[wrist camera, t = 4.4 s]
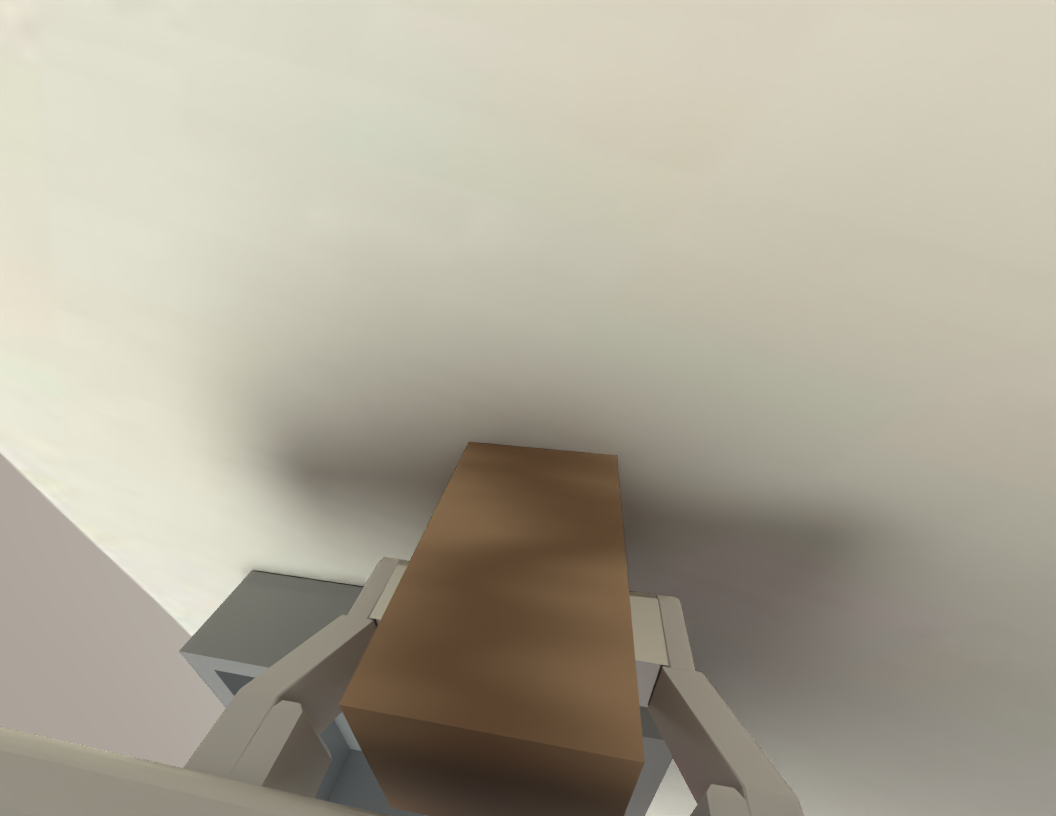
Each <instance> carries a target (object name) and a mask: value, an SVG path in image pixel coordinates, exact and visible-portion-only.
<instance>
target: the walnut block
mask: <svg viewBox="0 0 1056 816" xmlns="http://www.w3.org/2000/svg"><path fill="white" fill-rule="evenodd" d="M339 706H340V708H341V710H342V712H343V714H344V716H345V718H346V720H347V722H348V724H349V726H350V728H351V730H352V732H353V734H354V736H355V738H356V740H357V742H358V744H359V746H360V748H361V750H362V752H363V754H364V756H365V758H366V760H367V762H368V764H369V766H370V768H371V770H372V772H373V774H374V776H375V777H376V779H377V781H378V783H379V785H380V787H381V789H382V791H383V793H384V795H385V797H386V799H387V801H388V803H389V805H390V807H391V808H396V809H400V810H405V811H409V812H414V813H418V814H423V815H427V816H624V814H625V812H626V809H627V807H628V804H629V801H630V799H631V796H632V794H633V791H634V789H635V786H636V784H637V781H638V779H639V776H640V773H641V771H642V768H643V766H644V763H645V760H644V749H643V738H642V727H641V716H640V705H639V694H638V683H637V672H636V662H635V651H634V640H633V629H632V618H631V607H630V596H629V585H628V574H627V563H626V552H625V541H624V530H623V519H622V508H621V497H620V486H619V475H618V464H617V455H606V454H595V453H584V452H573V451H562V450H551V449H540V448H530V447H519V446H508V445H497V444H486V443H475V442H469V443H468V445H467V447H466V449H465V451H464V453H463V455H462V457H461V459H460V461H459V463H458V465H457V467H456V469H455V471H454V473H453V475H452V477H451V479H450V481H449V483H448V485H447V487H446V489H445V491H444V493H443V495H442V497H441V499H440V501H439V503H438V505H437V507H436V509H435V511H434V513H433V515H432V517H431V519H430V521H429V523H428V525H427V527H426V529H425V532H424V534H423V536H422V538H421V540H420V542H419V544H418V546H417V548H416V550H415V552H414V554H413V556H412V558H411V560H410V562H409V564H408V566H407V568H406V570H405V572H404V574H403V576H402V578H401V580H400V582H399V584H398V586H397V588H396V590H395V592H394V594H393V596H392V598H391V600H390V602H389V604H388V606H387V608H386V610H385V612H384V614H383V616H382V618H381V620H380V622H379V624H378V626H377V628H376V630H375V632H374V634H373V636H372V638H371V640H370V642H369V644H368V646H367V648H366V650H365V652H364V654H363V656H362V658H361V660H360V662H359V664H358V666H357V668H356V670H355V673H354V675H353V677H352V679H351V681H350V683H349V685H348V687H347V689H346V691H345V693H344V695H343V697H342V699H341V701H340V703H339Z"/></svg>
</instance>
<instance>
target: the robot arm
mask: <svg viewBox="0 0 1056 816" xmlns="http://www.w3.org/2000/svg"><path fill="white" fill-rule="evenodd" d="M409 562H410V561H407V560H402V559H394V558H387V557H384V558H383V559H382V560H381V561H380V562H379V563H378V564H377V566H376V567H375V569H374V571H373V573H372V574H371V576H370V578H369V579H368V581H367V583H366V584H365V586H364V588H363V590H362V591H361V593H360V595H359V596H358V598H357V600H356V602H355V603H354V605H353V607H352V608H351V610H350V612H349V613H348V615H341V616H339V617H338V618H337V619H335V620H334V621H333V622H331V623H330V624H328V625H327V626H326V627H324V628H323V629H322V630H320V631H319V632H317V633H316V634H315V635H313V636H312V637H311V638H309V639H308V640H307V641H305V642H304V643H302V644H301V645H300V646H298V647H297V648H296V649H294V650H293V651H291V652H290V653H289V654H287V655H286V656H285V657H283V658H282V659H280V660H279V661H278V662H276V663H275V664H274V665H272V666H271V667H269V668H268V669H267V670H265V671H264V672H263V673H261V674H260V675H258V676H257V677H256V678H254V679H253V680H252V681H250V682H249V683H247V684H246V685H245V686H243V687H242V688H241V689H239V691H238V692H237V694H236V695H235V696H234V698H233V699H232V701H231V702H230V703H229V705H228V706H227V708H226V709H225V711H224V712H223V713H222V715H221V716H220V718H219V719H218V720H217V722H216V723H215V724H214V726H213V727H212V729H211V730H210V731H209V733H208V734H207V736H206V737H205V738H204V740H203V741H202V743H201V744H200V745H199V747H198V748H197V750H196V751H195V752H194V754H193V755H192V756H191V758H190V759H189V761H188V762H187V764H186V765H185V766H184V768H180V767H175V766H171V765H166V764H162V763H158V762H153V761H149V760H145V759H140V758H136V757H132V756H127V755H123V754H118V753H114V752H110V751H105V750H101V749H97V748H92V747H88V746H83V745H79V744H75V743H70V742H66V741H62V740H57V739H53V738H48V737H44V736H40V735H35V734H31V733H26V732H22V731H18V730H13V729H9V728H4V727H0V816H390V815H385V814H381V813H377V812H372V811H368V810H364V809H359V808H355V807H350V806H346V805H342V804H337V803H333V802H329V801H324V800H320V799H315V796H316V794H317V791H318V789H319V787H320V785H321V782H322V780H323V778H324V776H325V774H326V771H327V769H328V767H329V765H330V762H331V760H332V759H331V753H330V751H329V749H328V748H327V746H326V744H325V743H324V741H323V739H322V738H321V736H320V734H321V733H322V732H323V731H324V730H325V729H326V728H327V727H328V726H329V725H330V724H331V723H332V722H333V721H334V720H335V719H336V718H337V717H338V715H339V714H340V713H341V712H342V710H341V708H340V706H339V703H340V701H341V699H342V697H343V695H344V693H345V691H346V689H347V687H348V685H349V683H350V681H351V679H352V677H353V675H354V673H355V670H356V668H357V666H358V664H359V662H360V660H361V658H362V656H363V654H364V652H365V650H366V648H367V646H368V644H369V642H370V640H371V638H372V636H373V634H374V632H375V630H376V628H377V626H378V624H379V622H380V620H381V618H382V616H383V614H384V612H385V610H386V608H387V606H388V604H389V602H390V600H391V598H392V596H393V594H394V592H395V590H396V588H397V586H398V584H399V582H400V580H401V578H402V576H403V574H404V572H405V570H406V568H407V566H408V564H409ZM629 596H630V607H631V618H632V629H633V640H634V651H635V662H636V672H637V683H638V694H639V705H640V706H643V707H648V709H647V710H648V711H649V713H650V715H651V717H652V719H653V721H654V723H655V725H656V727H657V728H658V730H659V732H660V734H661V736H662V738H663V740H664V742H665V744H666V745H667V747H668V749H669V751H670V753H671V755H672V757H673V759H674V761H675V762H676V764H677V766H678V768H679V770H680V772H681V774H682V776H683V778H684V779H685V781H686V783H687V785H688V787H689V789H690V791H691V793H692V795H693V796H694V798H695V800H696V802H697V804H698V805H697V806H696V808H695V809H694V811H693V812H692V814H691V815H690V816H804V814H803V811H802V808H801V805H800V802H799V799H798V798H797V796H796V795H795V794H794V792H793V791H792V790H791V789H790V787H789V786H788V785H787V783H786V782H785V781H784V779H783V778H782V777H781V775H780V774H779V773H778V771H777V770H776V769H775V767H774V766H773V765H772V764H771V762H770V761H769V760H768V758H767V757H766V756H765V754H764V753H763V752H762V750H761V749H760V748H759V746H758V745H757V744H756V742H755V741H754V740H753V739H752V737H751V736H750V735H749V733H748V732H747V731H746V729H745V728H744V727H743V725H742V724H741V723H740V721H739V720H738V719H737V717H736V716H735V715H734V714H733V712H732V711H731V710H730V708H729V707H728V706H727V704H726V703H725V702H724V700H723V699H722V698H721V696H720V695H719V694H718V692H717V691H716V690H715V689H714V687H713V686H712V685H711V683H710V682H709V681H708V679H707V678H706V677H705V675H704V674H703V673H702V672H697V671H695V667H694V662H693V657H692V653H691V648H690V644H689V639H688V634H687V630H686V625H685V620H684V616H683V611H682V607H681V602H680V601H679V599H678V598H677V597H671V596H662V595H655V594H652V593H644V592H635V591H629Z"/></svg>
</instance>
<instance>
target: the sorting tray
mask: <svg viewBox="0 0 1056 816" xmlns="http://www.w3.org/2000/svg"><path fill="white" fill-rule="evenodd" d="M363 588H364V587H358V586H351V585H344V584H337V583H331V582H324V581H317V580H311V579H304V578H297V577H290V576H284V575H277V574H270V573H264V572H257V571H251V572H250V573H249V574H248V576H247V577H246V578H245V579H244V580H243V581H242V582H241V583H240V584H239V585H238V587H237V588H236V589H235V590H234V591H233V592H232V593H231V594H230V595H229V597H228V598H227V599H226V600H225V601H224V602H223V603H222V604H221V605H220V607H219V608H218V609H217V610H216V611H215V612H214V613H213V614H212V615H211V617H210V618H209V619H208V620H207V621H206V622H205V623H204V624H203V625H202V627H201V628H200V629H199V630H198V631H197V632H196V633H195V634H194V635H193V636H192V638H191V639H190V640H189V641H188V642H187V643H186V644H185V645H184V646H183V648H182V649H181V650H180V651H179V652H180V653H181V654H182V655H183V657H184V658H185V659H186V660H187V661H188V663H189V664H190V665H191V666H192V667H193V669H194V670H195V671H196V672H197V674H198V675H199V676H200V677H201V678H202V679H203V681H204V682H205V683H206V684H207V686H208V687H209V688H210V689H211V690H212V692H213V693H214V694H215V695H216V697H217V698H218V699H219V700H220V701H221V703H222V704H223V705H224V706H225V707H226V708H227V706H228V705H229V703H230V702H231V701H232V699H233V698H234V696H235V695H236V694H237V692H238V691H239V689H241V688H242V687H243V686H245V685H246V684H247V683H249V682H250V681H252V680H253V679H254V678H256V677H257V676H258V675H260V674H261V673H263V672H264V671H265V670H267V669H268V668H269V667H271V666H272V665H274V664H275V663H276V662H278V661H279V660H280V659H282V658H283V657H285V656H286V655H287V654H289V653H290V652H291V651H293V650H294V649H296V648H297V647H298V646H300V645H301V644H302V643H304V642H305V641H307V640H308V639H309V638H311V637H312V636H313V635H315V634H316V633H317V632H319V631H320V630H322V629H323V628H324V627H326V626H327V625H328V624H330V623H331V622H333V621H334V620H335V619H337V618H338V617H339V616H341V615H348V613H349V612H350V610H351V608H352V607H353V605H354V603H355V602H356V600H357V598H358V596H359V595H360V593H361V591H362V590H363ZM647 709H648V707H643V706H640V716H641V727H642V738H643V749H644V760H645V763H644V766H643V768H642V771H641V773H640V776H639V779H638V781H637V784H636V786H635V789H634V791H633V794H632V796H631V799H630V801H629V804H628V807H627V809H626V812H625V814H624V816H645V814H646V812H647V810H648V808H649V806H650V804H651V802H652V800H653V798H654V795H655V793H656V791H657V789H658V787H659V785H660V783H661V781H662V779H663V777H664V775H665V773H666V771H667V768H668V766H669V764H670V762H671V760H672V758H673V757H672V755H671V753H670V751H669V749H668V747H667V745H666V744H665V742H664V740H663V738H662V736H661V734H660V732H659V730H658V728H657V727H656V725H655V723H654V721H653V719H652V717H651V715H650V713H649V711H648V710H647ZM320 736H321V738H322V739H323V741H324V743H325V744H326V746H327V748H328V749H329V751H330V753H331V759H332V760H331V762H330V765H329V767H328V769H327V771H326V774H325V776H324V778H323V780H322V782H321V785H320V787H319V789H318V791H317V794H316V796H315V799H320V800H324V801H329V802H333V803H337V804H342V805H346V806H350V807H355V808H359V809H364V810H368V811H372V812H377V813H381V814H385V815H390V816H427V815H423V814H418V813H414V812H409V811H405V810H400V809H396V808H391V807H390V805H389V803H388V801H387V799H386V797H385V795H384V793H383V791H382V789H381V787H380V785H379V783H378V781H377V779H376V777H375V776H374V774H373V772H372V770H371V768H370V766H369V764H368V762H367V760H366V758H365V756H364V754H363V752H362V750H361V748H360V746H359V744H358V742H357V740H356V738H355V736H354V734H353V732H352V730H351V728H350V726H349V724H348V722H347V720H346V718H345V716H344V714H343V712H341V713H340V714H339V715H338V717H337V718H336V719H335V720H334V721H333V722H332V723H331V724H330V725H329V726H328V727H327V728H326V729H325V730H324V731H323V732H322V733H321V734H320Z"/></svg>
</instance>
